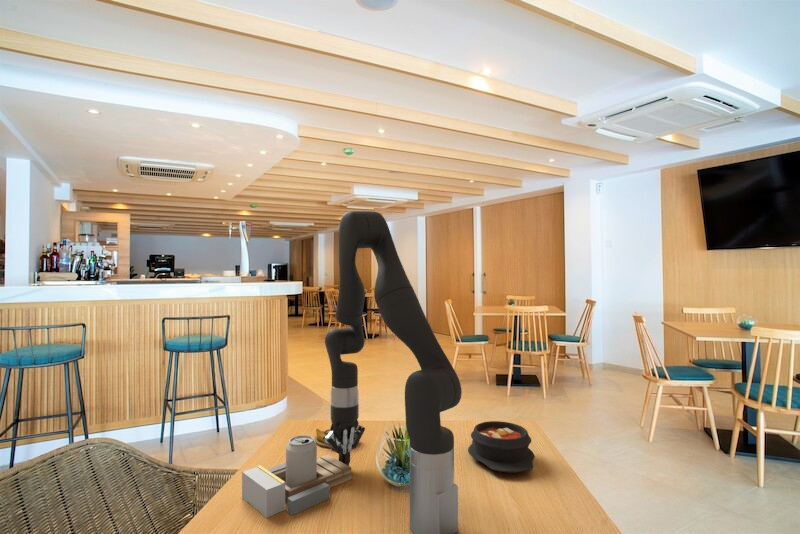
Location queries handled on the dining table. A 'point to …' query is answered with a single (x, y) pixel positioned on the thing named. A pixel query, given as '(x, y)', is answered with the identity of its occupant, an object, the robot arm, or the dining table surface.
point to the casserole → (502, 446)
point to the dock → (277, 492)
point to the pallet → (320, 475)
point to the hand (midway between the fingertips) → (344, 465)
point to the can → (301, 460)
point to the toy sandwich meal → (320, 437)
